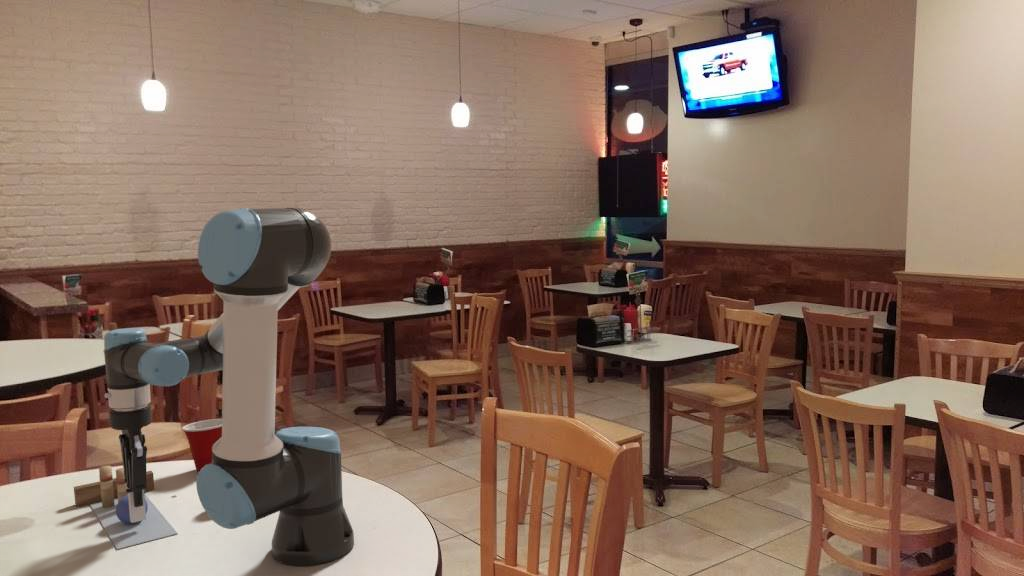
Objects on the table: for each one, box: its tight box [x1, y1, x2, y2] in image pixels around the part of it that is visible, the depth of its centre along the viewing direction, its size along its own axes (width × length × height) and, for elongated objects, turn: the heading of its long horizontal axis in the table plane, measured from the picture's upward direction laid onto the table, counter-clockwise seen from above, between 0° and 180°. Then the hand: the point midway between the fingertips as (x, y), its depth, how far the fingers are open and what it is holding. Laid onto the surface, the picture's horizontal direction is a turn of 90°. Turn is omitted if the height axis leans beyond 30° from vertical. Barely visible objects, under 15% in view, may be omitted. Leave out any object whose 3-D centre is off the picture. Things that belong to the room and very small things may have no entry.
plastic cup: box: [181, 418, 222, 474], centre depth 194 cm, size 11×11×12 cm
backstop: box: [73, 470, 155, 507], centre depth 178 cm, size 2×16×4 cm, turn 127°
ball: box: [116, 495, 148, 524], centre depth 162 cm, size 6×6×6 cm
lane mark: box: [89, 492, 178, 551], centre depth 165 cm, size 29×11×1 cm, turn 37°
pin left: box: [98, 465, 115, 508], centre depth 171 cm, size 2×2×9 cm
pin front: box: [115, 467, 129, 502], centre depth 169 cm, size 2×2×9 cm
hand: (138, 519), depth 158 cm, fingers closed
